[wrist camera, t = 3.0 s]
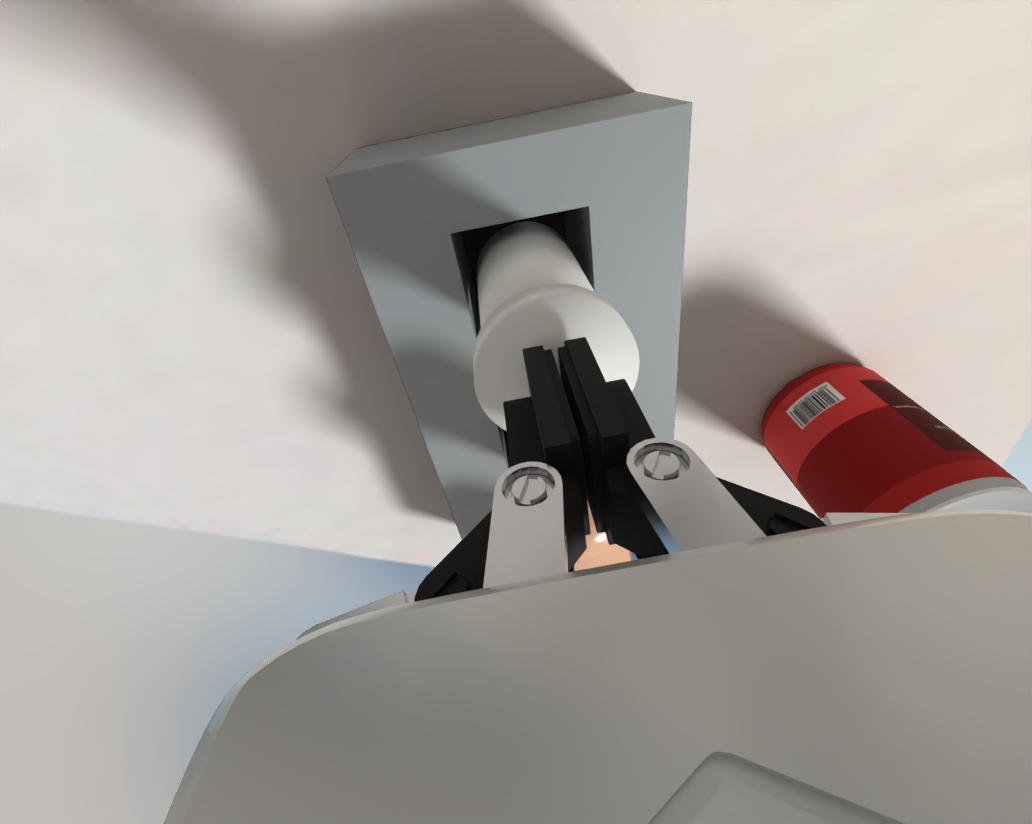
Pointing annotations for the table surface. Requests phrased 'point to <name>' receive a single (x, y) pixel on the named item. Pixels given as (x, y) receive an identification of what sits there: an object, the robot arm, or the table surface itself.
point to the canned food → (878, 450)
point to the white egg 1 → (539, 314)
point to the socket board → (504, 198)
